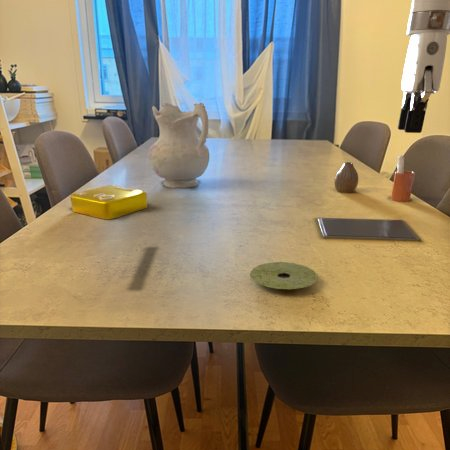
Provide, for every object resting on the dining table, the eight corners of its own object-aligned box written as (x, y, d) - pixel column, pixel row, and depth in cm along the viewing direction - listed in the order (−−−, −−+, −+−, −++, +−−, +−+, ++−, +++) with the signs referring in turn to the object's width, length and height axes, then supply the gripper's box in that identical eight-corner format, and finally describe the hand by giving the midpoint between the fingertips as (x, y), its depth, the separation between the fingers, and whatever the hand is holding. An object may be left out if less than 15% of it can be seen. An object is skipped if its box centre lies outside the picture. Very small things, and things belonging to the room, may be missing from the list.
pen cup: (406, 199, 124) (411, 170, 121) (411, 203, 120) (417, 174, 116) (388, 198, 125) (393, 170, 121) (392, 203, 120) (398, 174, 117)
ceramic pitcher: (225, 185, 145) (227, 104, 135) (198, 193, 129) (198, 102, 119) (170, 180, 153) (168, 103, 143) (137, 187, 137) (133, 101, 127)
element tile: (150, 207, 117) (149, 189, 115) (108, 220, 106) (106, 201, 104) (112, 199, 125) (110, 182, 122) (69, 211, 114) (66, 193, 111)
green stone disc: (246, 297, 69) (246, 286, 68) (253, 269, 79) (253, 259, 78) (317, 302, 67) (318, 290, 67) (315, 273, 77) (316, 263, 76)
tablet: (401, 224, 103) (402, 219, 103) (419, 244, 91) (420, 239, 90) (317, 221, 105) (317, 217, 105) (323, 240, 93) (323, 236, 92)
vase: (357, 195, 128) (362, 165, 124) (334, 194, 129) (337, 164, 125) (355, 190, 134) (359, 161, 130) (332, 189, 135) (335, 160, 131)
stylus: (402, 198, 123) (403, 154, 117) (403, 199, 121) (404, 155, 116) (396, 198, 123) (397, 155, 118) (397, 200, 121) (398, 156, 116)
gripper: (468, 20, 72) (442, 136, 80) (435, 30, 87) (416, 127, 95) (422, 20, 72) (400, 135, 81) (397, 30, 87) (381, 126, 96)
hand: (409, 130), depth 88 cm, fingers open, 4 cm apart
